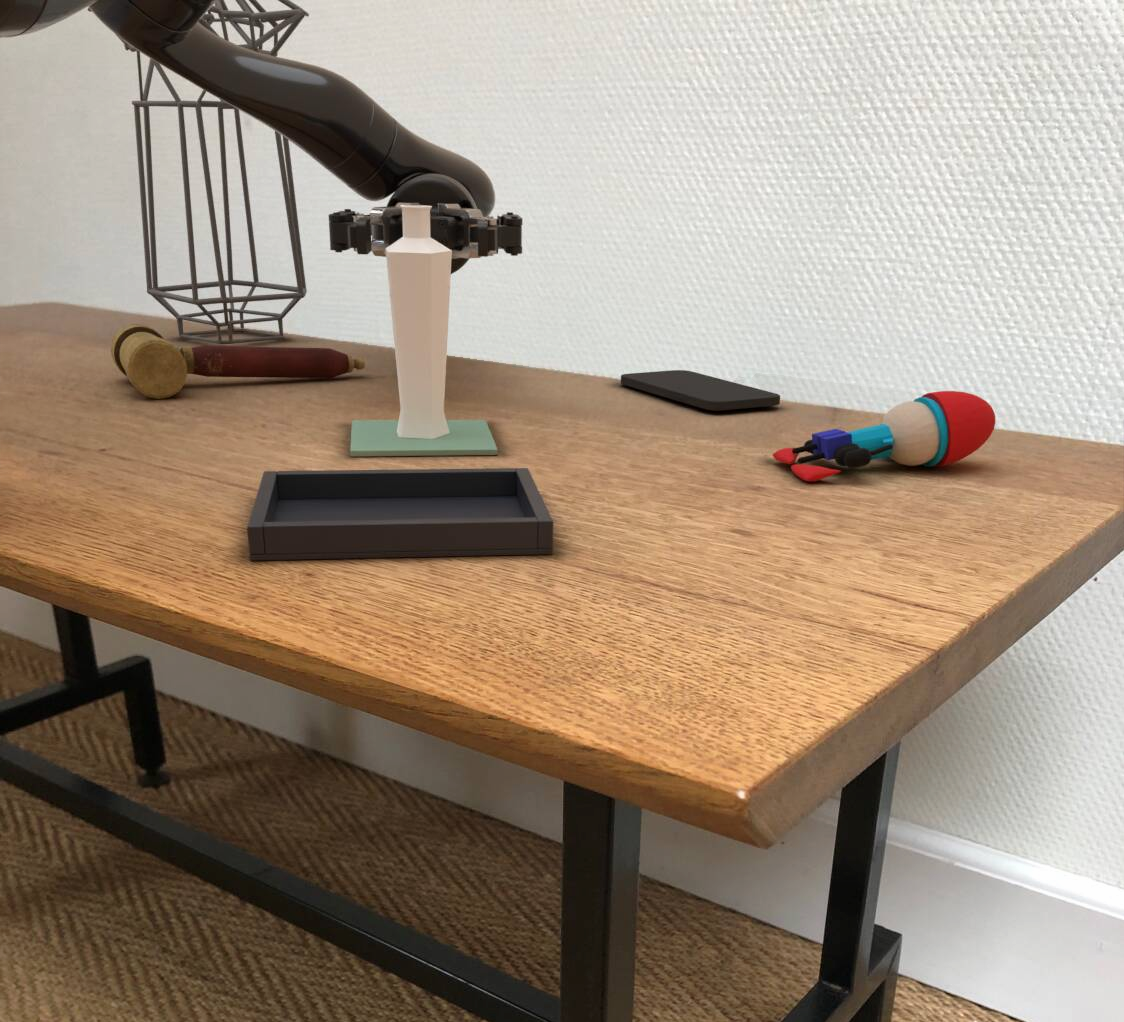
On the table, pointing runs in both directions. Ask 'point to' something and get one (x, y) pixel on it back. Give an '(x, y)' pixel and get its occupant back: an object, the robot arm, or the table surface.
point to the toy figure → (903, 436)
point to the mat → (421, 440)
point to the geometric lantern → (161, 292)
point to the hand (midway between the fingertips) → (422, 239)
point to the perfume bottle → (420, 323)
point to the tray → (398, 514)
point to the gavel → (215, 361)
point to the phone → (700, 390)
